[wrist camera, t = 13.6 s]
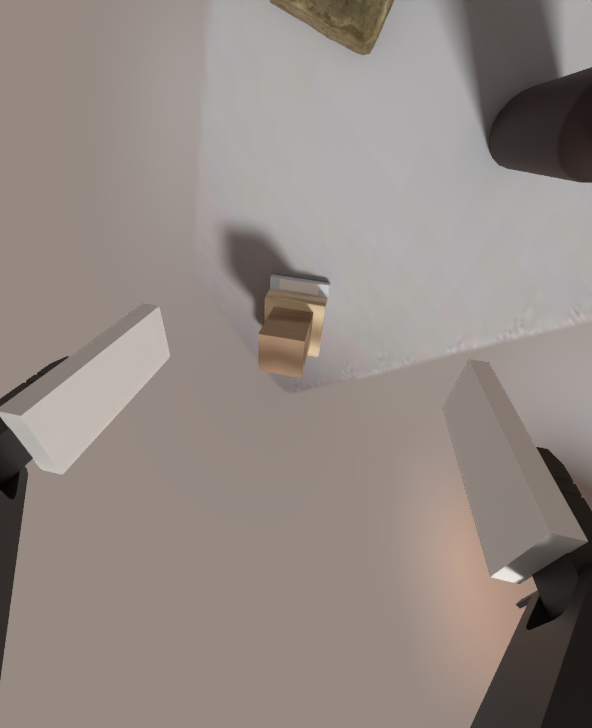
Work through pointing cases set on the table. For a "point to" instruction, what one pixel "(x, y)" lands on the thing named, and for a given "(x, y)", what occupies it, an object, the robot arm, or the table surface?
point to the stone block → (342, 19)
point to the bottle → (548, 129)
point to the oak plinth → (302, 304)
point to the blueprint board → (300, 286)
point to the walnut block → (285, 341)
